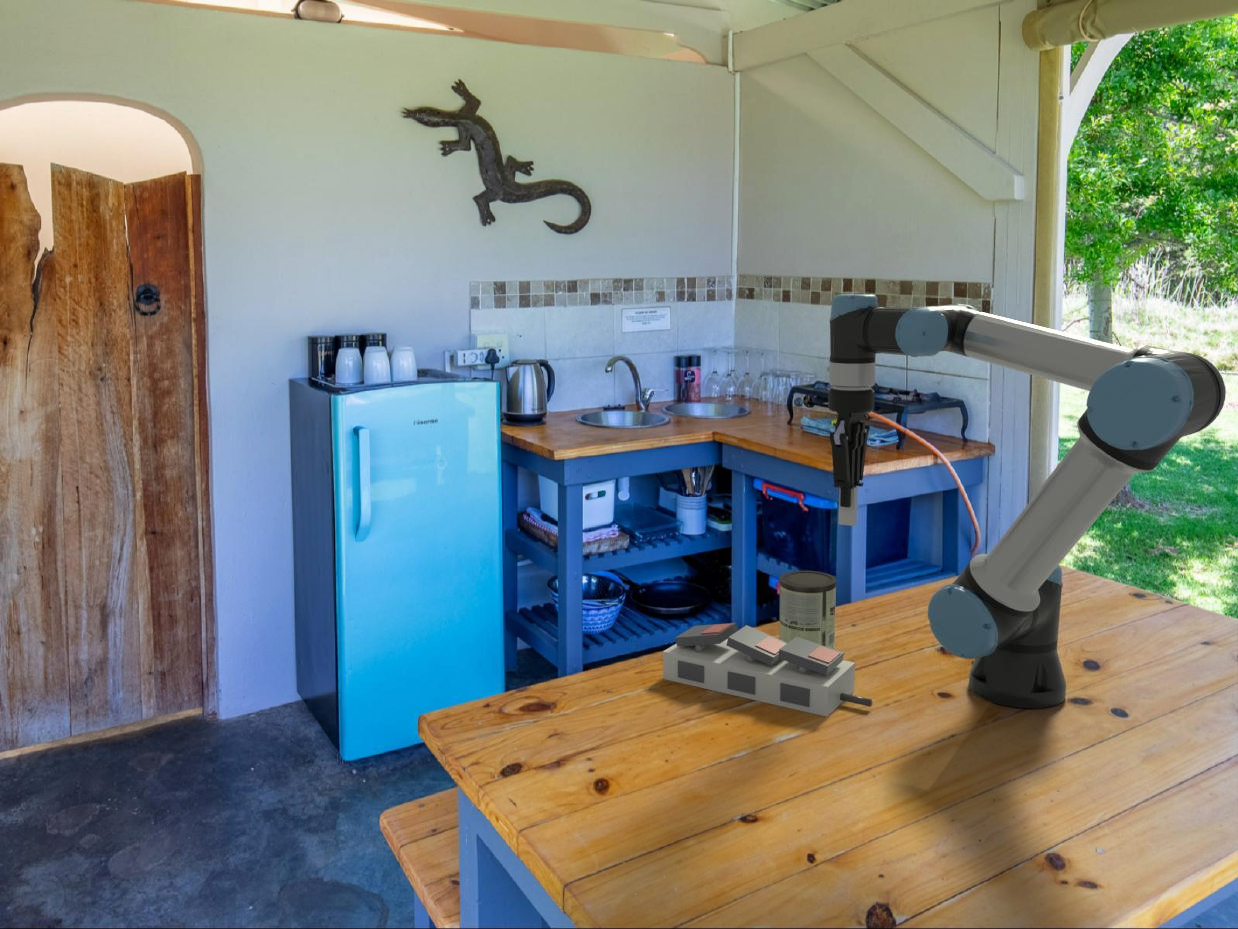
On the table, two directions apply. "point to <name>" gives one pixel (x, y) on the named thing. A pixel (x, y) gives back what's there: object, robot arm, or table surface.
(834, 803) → the table surface
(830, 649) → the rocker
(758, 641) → the rocker
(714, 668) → the power strip
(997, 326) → the robot arm
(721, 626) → the rocker
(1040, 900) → the table surface
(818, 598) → the coffee can
